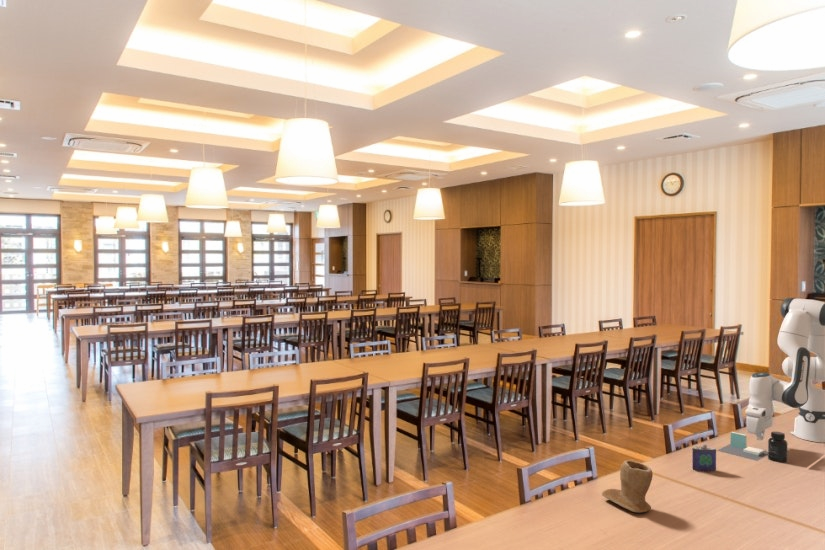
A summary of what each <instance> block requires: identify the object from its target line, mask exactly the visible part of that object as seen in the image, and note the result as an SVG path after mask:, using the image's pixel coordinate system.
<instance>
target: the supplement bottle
mask: <svg viewBox="0 0 825 550" xmlns="http://www.w3.org/2000/svg"><path fill="white" fill-rule="evenodd" d="M785 438H786V435H785V433H784V432H780V431H771V433H770V438H769V439H767V440H768V441H767V444H768V445H767V452H768V455H767V459H768V460H770V461H772V462H773V463H774V462H776V463H782V464H784V463H788V444H789V443H788V441H787V440H786V439H785Z"/></svg>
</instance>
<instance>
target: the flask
mask: <svg viewBox="0 0 825 550" xmlns="http://www.w3.org/2000/svg"><path fill="white" fill-rule="evenodd" d="M708 446H709V445H708V444H706V443H703V445H702V446H696V447H695V446H694V447H692V451H691V452H692V455H691V456H692V469H693V470H692V471H694V470H695V471H696V472H703V471H704V472H716V471H717V448H714V447H708ZM695 471H694V472H695Z"/></svg>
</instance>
